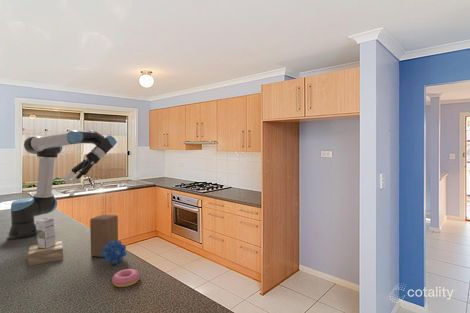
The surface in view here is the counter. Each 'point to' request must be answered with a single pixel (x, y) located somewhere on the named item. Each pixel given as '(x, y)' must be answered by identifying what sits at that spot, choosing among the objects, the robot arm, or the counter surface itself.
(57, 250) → the birch block
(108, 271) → the counter surface
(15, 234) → the robot arm
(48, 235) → the syrup box
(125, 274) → the doughnut
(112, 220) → the wooden block
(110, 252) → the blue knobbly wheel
